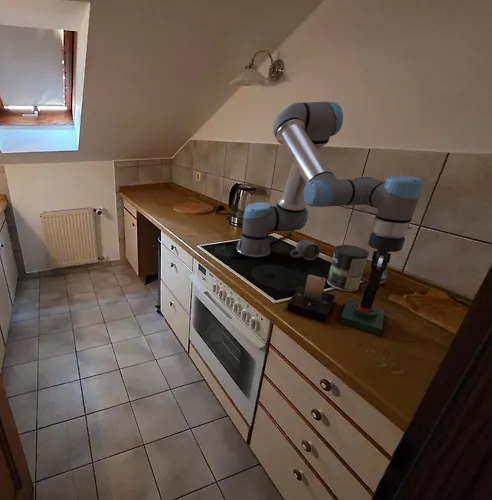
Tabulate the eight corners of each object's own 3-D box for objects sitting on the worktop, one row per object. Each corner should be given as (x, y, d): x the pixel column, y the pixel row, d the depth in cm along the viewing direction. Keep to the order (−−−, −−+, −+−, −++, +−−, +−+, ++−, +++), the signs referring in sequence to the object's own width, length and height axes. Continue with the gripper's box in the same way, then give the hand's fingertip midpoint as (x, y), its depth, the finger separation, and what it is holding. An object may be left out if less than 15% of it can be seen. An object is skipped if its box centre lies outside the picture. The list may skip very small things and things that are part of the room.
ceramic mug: (309, 252, 140) (311, 237, 137) (318, 260, 132) (321, 243, 129) (286, 253, 140) (288, 238, 137) (294, 261, 132) (297, 245, 129)
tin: (343, 271, 121) (348, 252, 118) (348, 270, 123) (353, 251, 119) (383, 288, 109) (390, 267, 105) (388, 286, 110) (395, 266, 107)
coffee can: (327, 287, 110) (335, 253, 105) (326, 276, 119) (334, 243, 113) (360, 294, 106) (371, 258, 100) (357, 281, 114) (367, 247, 109)
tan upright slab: (303, 297, 99) (307, 275, 96) (304, 295, 101) (309, 273, 97) (320, 302, 96) (325, 280, 93) (321, 300, 98) (326, 278, 94)
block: (345, 305, 100) (348, 294, 98) (382, 315, 94) (386, 305, 92) (339, 322, 91) (342, 311, 90) (380, 335, 86) (384, 324, 84)
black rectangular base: (298, 292, 108) (299, 285, 107) (333, 302, 101) (335, 294, 100) (286, 310, 98) (288, 302, 97) (324, 323, 91) (326, 314, 90)
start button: (357, 307, 94) (358, 302, 93) (371, 311, 92) (372, 306, 91) (355, 312, 92) (357, 308, 91) (370, 317, 89) (371, 312, 89)
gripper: (405, 244, 75) (379, 321, 84) (406, 230, 84) (382, 301, 93) (369, 238, 79) (347, 312, 88) (373, 225, 89) (353, 294, 98)
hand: (365, 306), depth 91 cm, fingers closed
